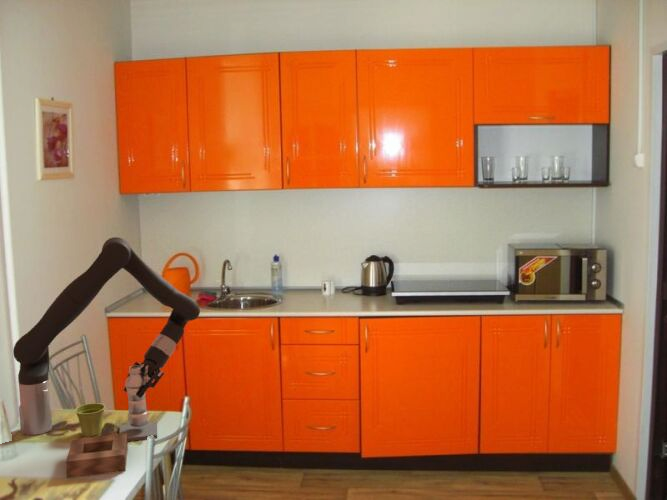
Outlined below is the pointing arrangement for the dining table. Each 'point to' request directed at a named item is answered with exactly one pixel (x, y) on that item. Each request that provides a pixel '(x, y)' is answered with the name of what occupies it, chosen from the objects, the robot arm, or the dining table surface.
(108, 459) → the pocket block
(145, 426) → the slate mat
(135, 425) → the plastic bottle
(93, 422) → the plant pot
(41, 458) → the dining table surface
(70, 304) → the robot arm
